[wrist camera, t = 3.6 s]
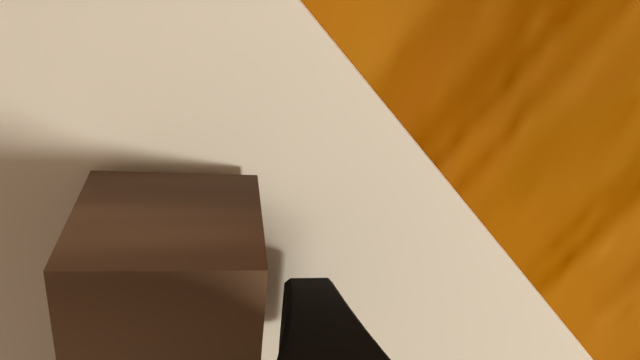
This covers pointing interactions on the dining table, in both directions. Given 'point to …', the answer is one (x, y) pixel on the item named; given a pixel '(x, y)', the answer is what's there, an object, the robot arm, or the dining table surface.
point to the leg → (160, 269)
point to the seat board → (250, 169)
